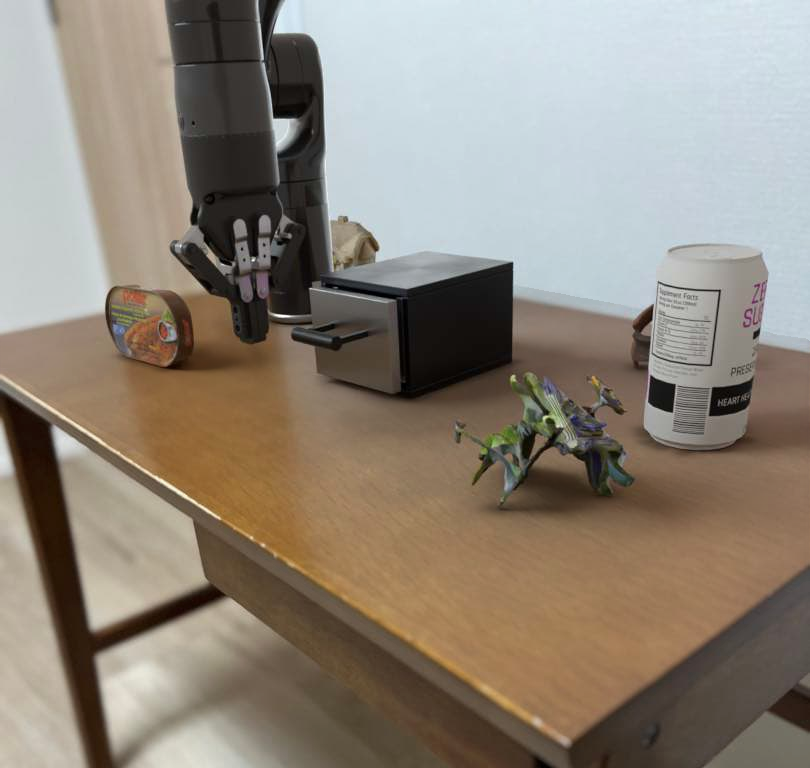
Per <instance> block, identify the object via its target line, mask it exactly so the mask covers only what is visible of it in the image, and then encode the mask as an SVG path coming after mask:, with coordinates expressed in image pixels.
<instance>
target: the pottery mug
mask: <svg viewBox="0 0 810 768" xmlns="http://www.w3.org/2000/svg"><path fill="white" fill-rule="evenodd" d="M653 309H654V303H652V304H651V305H649V306H648V307H645V309H644V310H643V311H641V313H640V314H639V315H637V317H636V318H635V319H634V321H633V323H632V325H631V327H632V329H633V330H634V332H633V333H632V336H631V337H632V342H631V347H630V357H631V362H632V363H633V367H634V368H635V369H637V368H639V363H643V362H644V363H649V355H650V344H651V335H646V334H645V335H644V334H643V333H642V332H643V330H645V328H646V327H647V326H648V325H650V323H652V321H653Z"/></svg>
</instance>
